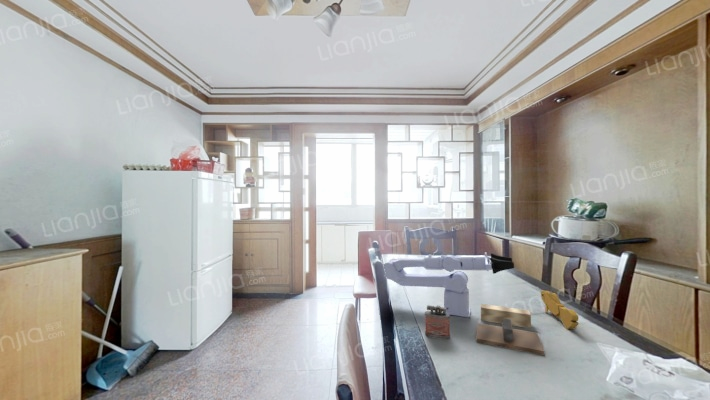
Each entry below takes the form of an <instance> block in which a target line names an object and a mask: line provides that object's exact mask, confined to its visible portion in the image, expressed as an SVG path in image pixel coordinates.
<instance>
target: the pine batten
mask: <svg viewBox="0 0 710 400" xmlns="http://www.w3.org/2000/svg"><path fill="white" fill-rule="evenodd" d="M530 311H531V310H528V309H520V308H514V307H513V308H512V307H506V306H499V305H493V304H492V305H491V304H484V303H481V304H480V321H485V322H490V323H496V324H502V325H503V323H502V318H503V319H510V320H511V325H512V326H515V327H521V328H525V329H526V328H527V329H532V315H531V312H530Z"/></svg>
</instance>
